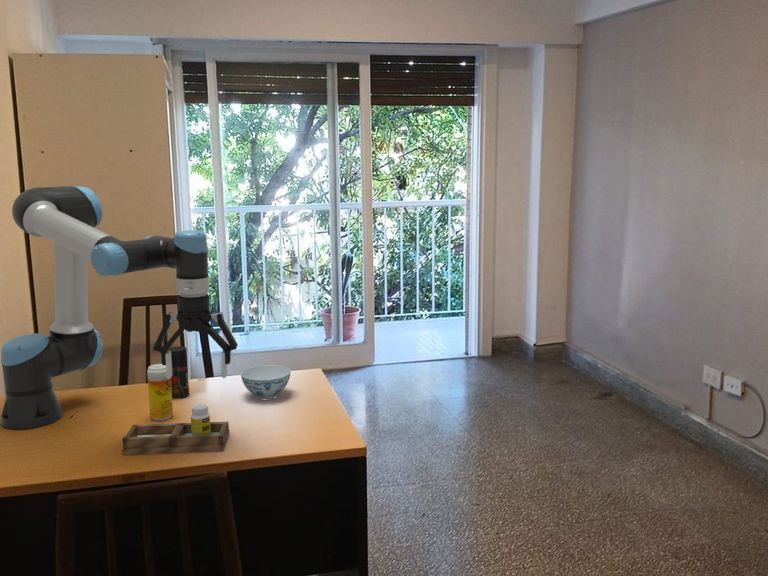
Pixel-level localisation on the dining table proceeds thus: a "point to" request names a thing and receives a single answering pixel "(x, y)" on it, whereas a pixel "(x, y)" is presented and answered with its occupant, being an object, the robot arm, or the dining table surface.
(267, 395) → the chinaware
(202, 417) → the supplement bottle
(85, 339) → the robot arm
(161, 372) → the yellow canister
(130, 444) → the divided tray
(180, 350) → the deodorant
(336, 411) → the dining table surface
